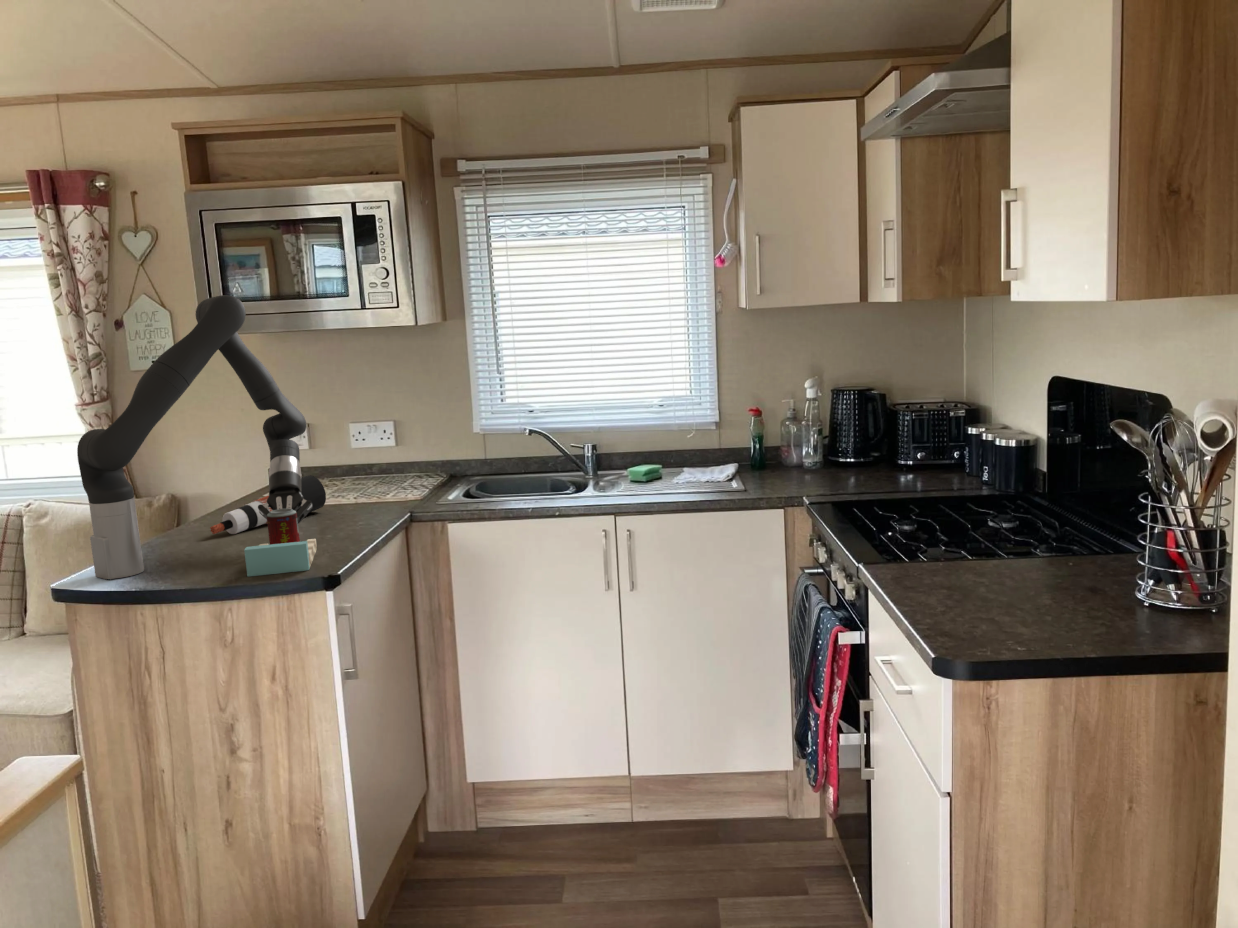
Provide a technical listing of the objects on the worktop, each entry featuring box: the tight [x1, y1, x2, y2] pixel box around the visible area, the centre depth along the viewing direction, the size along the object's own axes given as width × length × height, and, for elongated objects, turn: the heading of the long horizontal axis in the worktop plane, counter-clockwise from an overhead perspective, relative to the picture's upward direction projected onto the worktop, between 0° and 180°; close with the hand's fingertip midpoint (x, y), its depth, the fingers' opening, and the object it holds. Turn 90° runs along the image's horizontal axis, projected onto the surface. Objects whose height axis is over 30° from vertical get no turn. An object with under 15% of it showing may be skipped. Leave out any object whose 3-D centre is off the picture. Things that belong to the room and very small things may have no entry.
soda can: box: [266, 508, 301, 545], centre depth 230 cm, size 7×7×12 cm
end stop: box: [244, 540, 311, 577], centre depth 219 cm, size 3×13×6 cm, turn 102°
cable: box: [209, 474, 327, 535], centre depth 272 cm, size 10×34×10 cm, turn 148°
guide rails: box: [258, 538, 318, 567], centre depth 229 cm, size 19×13×2 cm
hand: (285, 537), depth 234 cm, fingers closed
